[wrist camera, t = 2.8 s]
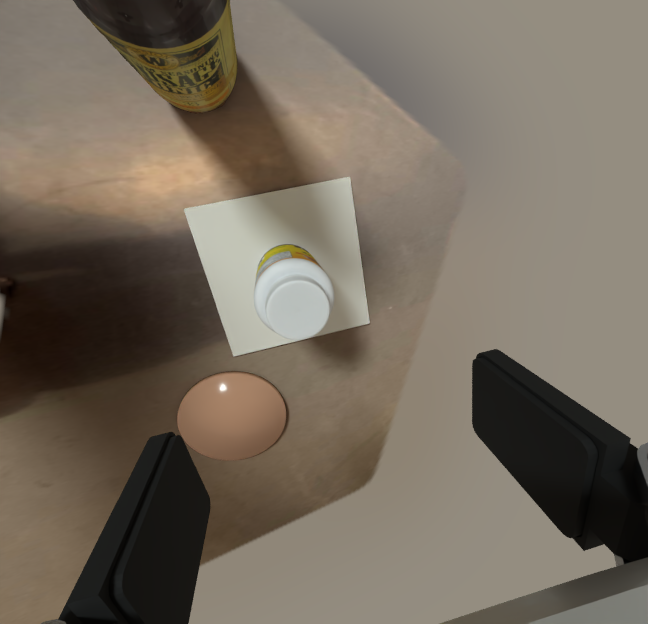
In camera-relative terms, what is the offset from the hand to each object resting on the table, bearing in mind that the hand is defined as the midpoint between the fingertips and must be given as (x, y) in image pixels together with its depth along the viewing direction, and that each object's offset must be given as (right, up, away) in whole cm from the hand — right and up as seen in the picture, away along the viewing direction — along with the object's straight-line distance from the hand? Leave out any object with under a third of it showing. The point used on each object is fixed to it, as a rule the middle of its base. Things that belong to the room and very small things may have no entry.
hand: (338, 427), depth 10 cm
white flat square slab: (-4, +7, +19) cm, 20 cm away
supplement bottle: (-4, +7, +19) cm, 20 cm away
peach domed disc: (-10, -7, +23) cm, 26 cm away
